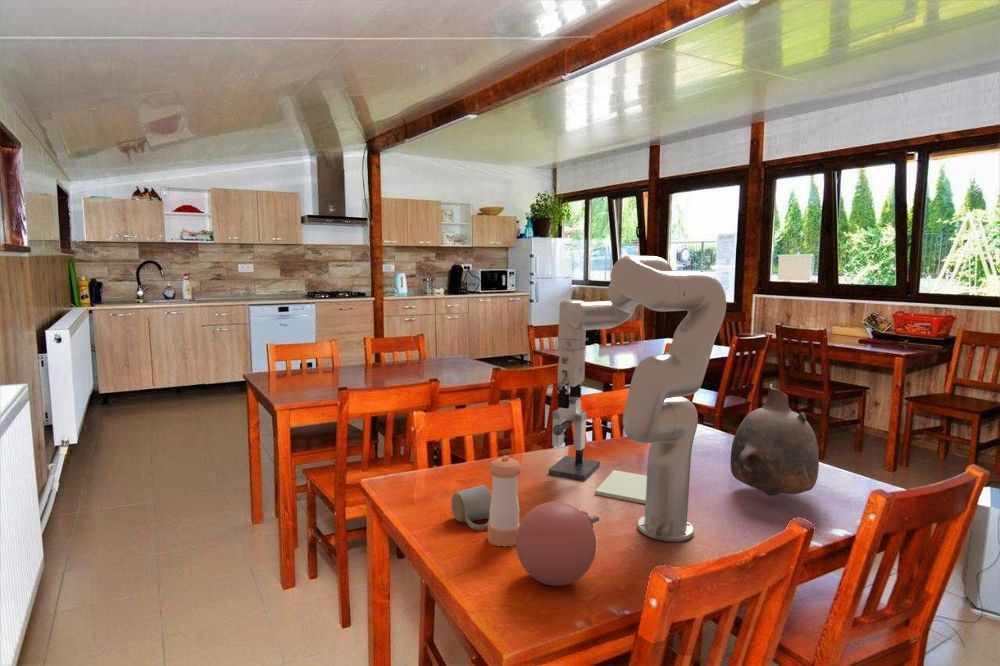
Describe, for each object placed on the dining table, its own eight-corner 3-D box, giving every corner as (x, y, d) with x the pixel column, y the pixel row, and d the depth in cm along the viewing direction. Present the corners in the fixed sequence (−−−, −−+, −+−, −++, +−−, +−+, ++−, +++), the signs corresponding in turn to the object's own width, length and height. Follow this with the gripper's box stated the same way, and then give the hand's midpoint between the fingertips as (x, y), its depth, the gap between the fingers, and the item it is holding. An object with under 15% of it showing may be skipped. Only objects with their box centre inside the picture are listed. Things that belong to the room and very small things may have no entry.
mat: (663, 507, 156) (663, 503, 156) (595, 494, 164) (595, 490, 163) (676, 484, 172) (676, 480, 172) (613, 473, 180) (613, 470, 180)
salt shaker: (498, 529, 142) (499, 449, 139) (526, 537, 138) (528, 454, 136) (481, 541, 136) (482, 457, 133) (509, 550, 132) (511, 464, 129)
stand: (573, 492, 165) (575, 428, 162) (535, 485, 169) (537, 423, 167) (599, 466, 186) (601, 409, 183) (565, 460, 190) (567, 405, 188)
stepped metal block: (580, 450, 172) (582, 401, 170) (552, 445, 175) (553, 397, 174) (585, 446, 175) (586, 398, 173) (557, 442, 179) (558, 395, 177)
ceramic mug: (449, 516, 148) (449, 485, 147) (479, 510, 152) (480, 480, 151) (468, 534, 139) (468, 502, 138) (500, 527, 143) (500, 496, 142)
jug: (810, 521, 149) (820, 400, 145) (718, 501, 160) (726, 388, 157) (820, 490, 169) (829, 383, 166) (738, 474, 181) (745, 373, 177)
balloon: (627, 578, 121) (630, 503, 119) (551, 612, 109) (554, 529, 107) (573, 547, 133) (575, 479, 131) (499, 575, 121) (500, 501, 119)
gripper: (574, 349, 162) (571, 412, 165) (594, 341, 178) (591, 399, 180) (547, 347, 166) (545, 409, 168) (569, 339, 181) (567, 396, 183)
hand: (569, 403), depth 174 cm, fingers open, 9 cm apart
